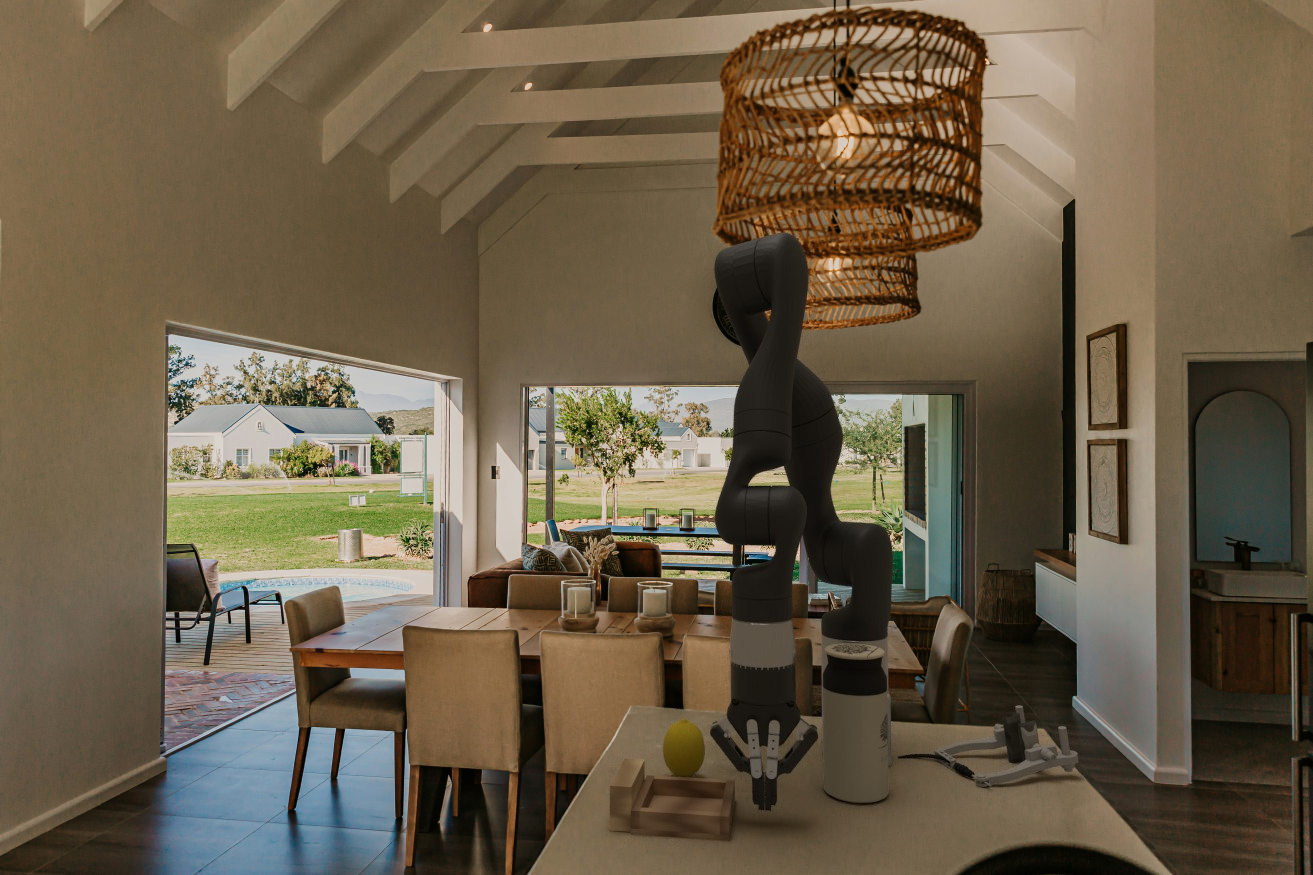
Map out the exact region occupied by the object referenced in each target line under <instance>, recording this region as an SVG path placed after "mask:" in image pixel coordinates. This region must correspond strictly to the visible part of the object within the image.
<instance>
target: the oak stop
mask: <svg viewBox="0 0 1313 875" xmlns="http://www.w3.org/2000/svg"><path fill="white" fill-rule="evenodd" d="M645 761H646V760H645V759H643V758H641V759H639V758H624V759H623V761H622V763H621V765H620V766H619V769H618V770H617V772H616V774H615V776H614V777H613V779H612V780H611V783H610V784H609V831H610V832H611V831H612V832H626V833H627V832H628V833H631V809H632V807H633V805H634V803H635V800H636V798H637V796H638V794H639V791H640V789H641V787H642V785H643V783H644V780H645V778H646V777H645V775H646V774H645V772H646V771H645V769H646V768H645Z"/></svg>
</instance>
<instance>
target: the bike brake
mask: <svg viewBox="0 0 1313 875" xmlns="http://www.w3.org/2000/svg"><path fill="white" fill-rule="evenodd" d="M1001 718H1002V724H1000V723H996V724H995V725H994V727H993V728H994V729H993V734H994V735H992V736H987V737H983V738H977V739H976V738H975V739H969V740H963V741H959V742H954V743H951V744H948V745H945V746H942V747H940V748H935V749H934V751H933V753H934V754H932V753H910V754H904V755H903V754H902V755H899V756H896V758H897V759H899V760H900V759H924V758H926V759H933V760H937V761H938V762H939V763H941V764H943V765H944V766H946V767H947V768H949V769H950V770H954V771H955V772H957V773H958V774H960V775H962V776H963V777H966V778H968V779H970V780H971V779H975V786H977V787H980V788H987V787H988V786H989V787H990V788H991V787H992V786H993V785H997V784H1003V783H1008V782H1013V781H1015V780H1020V779H1022V778H1024V777H1027V776H1029V775H1032V774H1035V773H1038V772H1041V771H1045V770H1048V769H1051V768H1056V767H1061V768H1062V769H1063V770H1064V771H1065V772H1066V773H1072V772H1073V769H1074V768H1075V767H1076V766H1075V765H1076V764H1078V763H1079V755H1078V752H1077V751H1075V750H1071V748H1070V743H1069V742H1070V741H1069V735H1068V731H1067V727H1066V726H1063V725H1060V726H1058V727H1057V728H1058V735H1059V742H1060V743H1059V745H1060V751H1058V748H1057V745H1056V744H1054V743H1048V744H1044V745H1041V744H1040V741H1039V734H1038V727H1037V721H1036V720H1029V721H1026V719H1025V713H1024V707H1023V705H1015V713H1011V714H1008V715H1004V716H1002V717H1001ZM1004 747H1006V751H1007V753H1006V754H1007V759H1008V763H1010V764H1014V763H1015V764H1016V763H1019V764H1017V765H1016V766H1013V767H1012V768H1009V769H1006V770H1002V771H998V772H991V773H982V772H981V773H977V774H975V772H974V771H972V770H971V769H970V768H969V767H968V766H966V765H965V764H961V763H960V762H957V759H956V758H955V757H953V755H956V754H960V753H963V752H969V751H971V752H972V751H983V750H997V749H1000V748H1004Z"/></svg>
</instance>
